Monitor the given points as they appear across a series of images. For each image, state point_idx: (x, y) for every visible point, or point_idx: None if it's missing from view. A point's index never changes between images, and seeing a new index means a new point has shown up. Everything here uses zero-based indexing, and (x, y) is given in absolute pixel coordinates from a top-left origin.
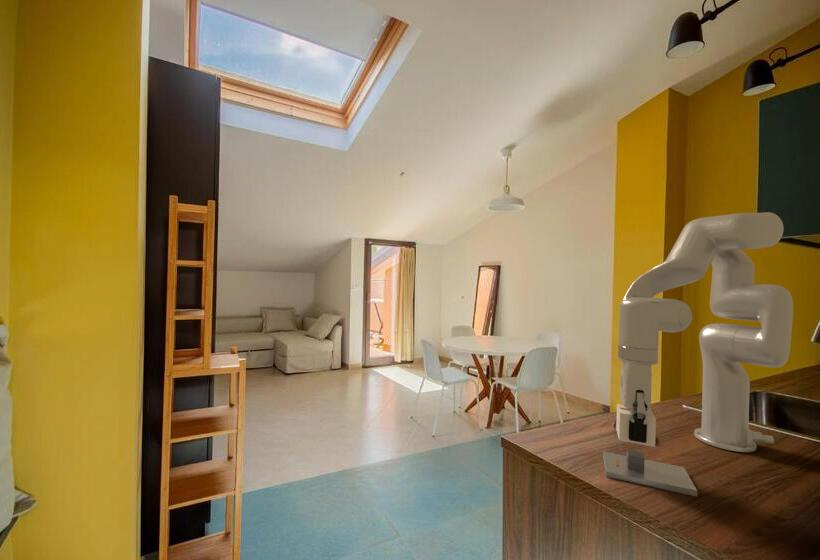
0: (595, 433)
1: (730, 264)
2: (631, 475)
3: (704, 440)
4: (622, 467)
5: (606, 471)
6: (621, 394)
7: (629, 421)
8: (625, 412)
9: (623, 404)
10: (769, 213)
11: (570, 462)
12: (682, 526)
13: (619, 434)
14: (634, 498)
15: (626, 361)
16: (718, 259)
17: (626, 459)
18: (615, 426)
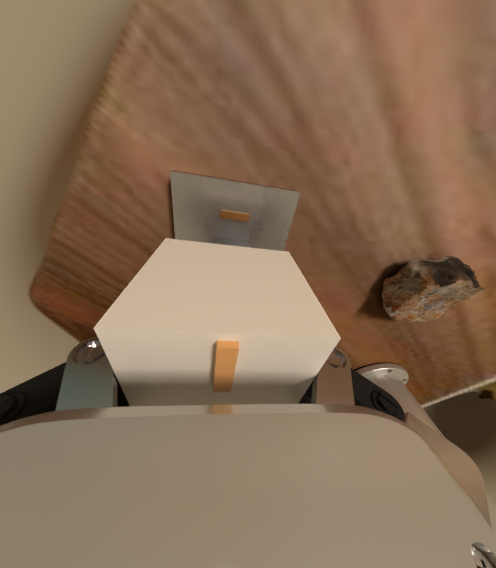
0: (442, 200)
1: None
2: (181, 235)
3: (368, 369)
4: (215, 224)
5: (170, 172)
6: (218, 537)
7: None
8: (144, 356)
9: (14, 442)
10: None
11: (224, 40)
12: (61, 275)
13: (158, 249)
14: (103, 218)
15: None
16: None
17: (265, 244)
18: (446, 261)
